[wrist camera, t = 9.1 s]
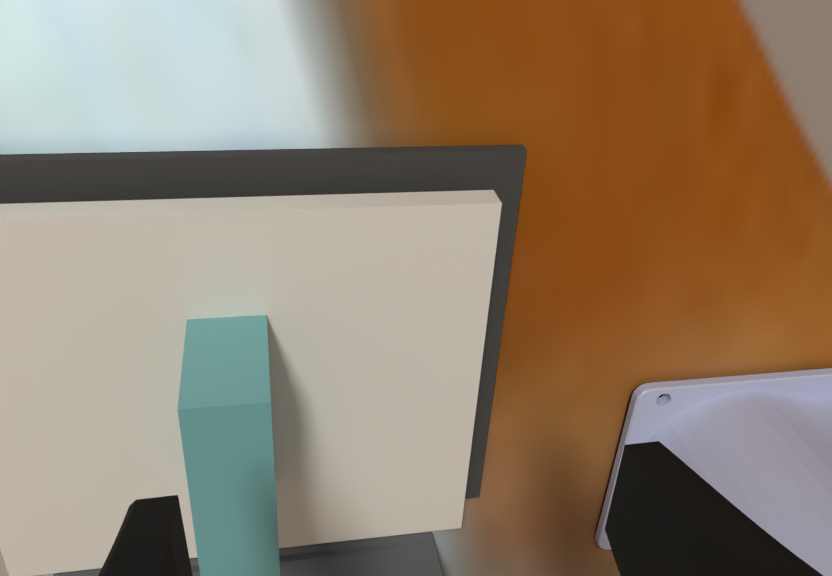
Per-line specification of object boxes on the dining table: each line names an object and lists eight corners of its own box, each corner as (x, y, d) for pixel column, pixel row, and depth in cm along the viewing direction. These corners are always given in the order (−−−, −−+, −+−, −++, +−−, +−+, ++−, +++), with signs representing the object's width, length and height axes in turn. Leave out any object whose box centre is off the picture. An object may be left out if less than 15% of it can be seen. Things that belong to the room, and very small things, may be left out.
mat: (522, 144, 21) (526, 150, 21) (476, 488, 28) (478, 497, 28) (-139, 157, 18) (-146, 164, 18) (-9, 538, 25) (-12, 548, 25)
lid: (487, 180, 21) (546, 273, 17) (452, 496, 27) (488, 620, 23) (-87, 195, 18) (-181, 309, 14) (20, 541, 25) (-23, 688, 21)
